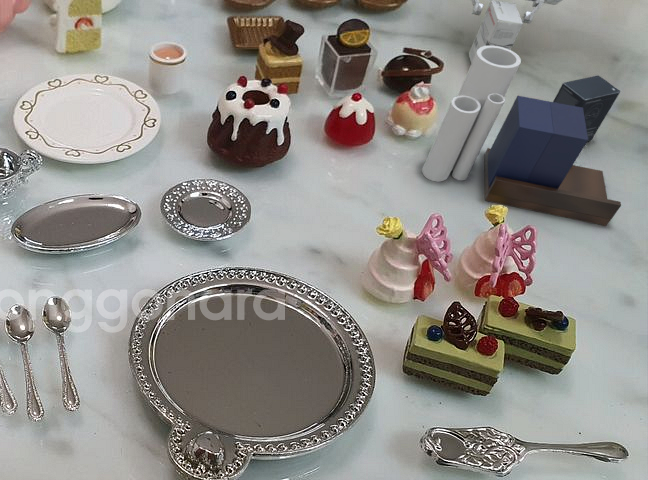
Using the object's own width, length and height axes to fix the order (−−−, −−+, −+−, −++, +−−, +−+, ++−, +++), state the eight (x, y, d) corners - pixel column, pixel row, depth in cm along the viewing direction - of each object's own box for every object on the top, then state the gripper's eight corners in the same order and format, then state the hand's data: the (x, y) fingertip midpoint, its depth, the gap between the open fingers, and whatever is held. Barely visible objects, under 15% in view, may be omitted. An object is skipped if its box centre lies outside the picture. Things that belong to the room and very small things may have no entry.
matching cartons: (548, 166, 130) (583, 107, 121) (551, 199, 124) (588, 140, 115) (487, 154, 132) (517, 95, 123) (488, 186, 126) (519, 126, 117)
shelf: (598, 177, 131) (612, 156, 127) (606, 226, 122) (621, 205, 119) (484, 154, 134) (494, 133, 131) (484, 200, 126) (495, 179, 122)
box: (569, 124, 141) (598, 74, 133) (591, 141, 137) (622, 91, 129) (535, 131, 139) (562, 81, 131) (556, 149, 135) (585, 99, 127)
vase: (438, 142, 136) (482, 40, 121) (478, 156, 134) (528, 55, 118) (418, 175, 130) (462, 72, 115) (459, 191, 127) (510, 88, 112)
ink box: (498, 79, 150) (524, 23, 141) (473, 76, 151) (497, 20, 142) (491, 56, 156) (516, 1, 147) (467, 53, 156) (490, -2, 147)
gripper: (470, -69, 145) (450, 3, 147) (583, -52, 142) (561, 22, 143) (461, -55, 152) (442, 14, 153) (569, -39, 148) (549, 32, 149)
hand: (501, 18), depth 148 cm, fingers open, 8 cm apart
